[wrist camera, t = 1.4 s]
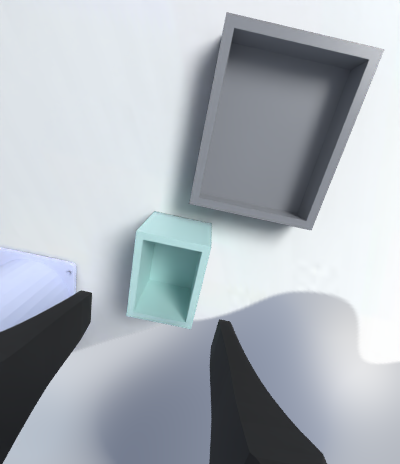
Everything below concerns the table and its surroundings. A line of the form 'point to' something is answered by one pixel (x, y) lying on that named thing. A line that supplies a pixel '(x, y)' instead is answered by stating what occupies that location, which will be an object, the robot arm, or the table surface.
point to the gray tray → (278, 119)
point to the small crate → (168, 269)
